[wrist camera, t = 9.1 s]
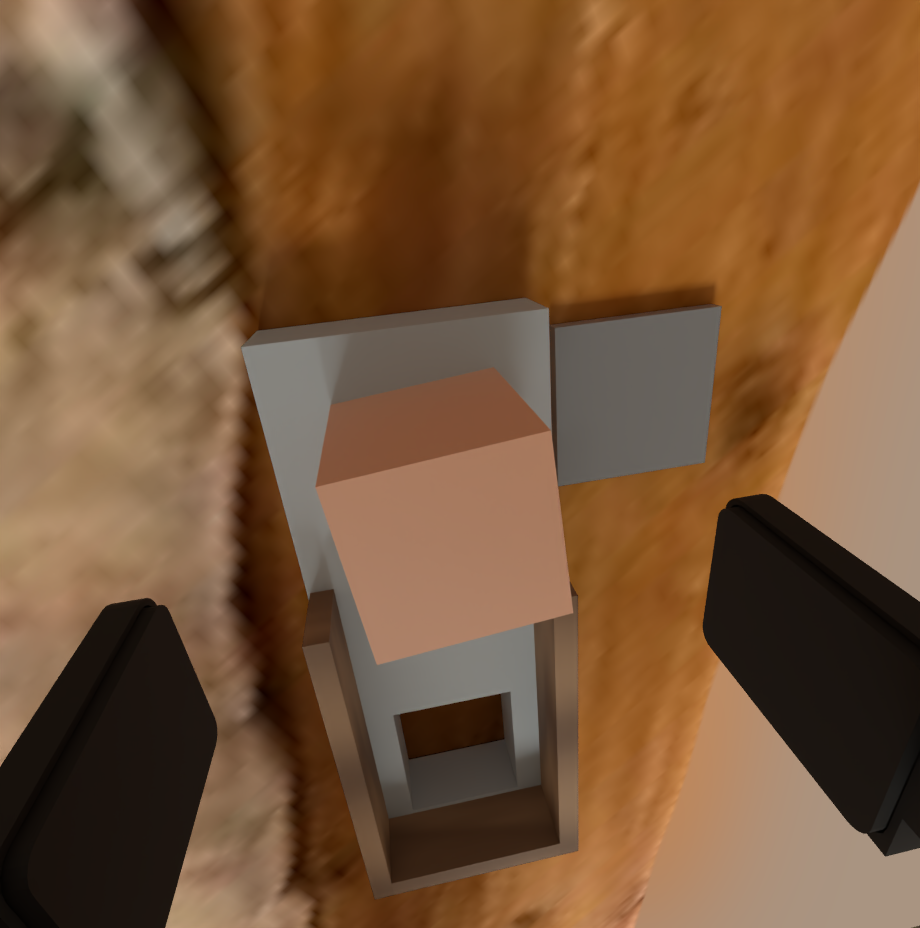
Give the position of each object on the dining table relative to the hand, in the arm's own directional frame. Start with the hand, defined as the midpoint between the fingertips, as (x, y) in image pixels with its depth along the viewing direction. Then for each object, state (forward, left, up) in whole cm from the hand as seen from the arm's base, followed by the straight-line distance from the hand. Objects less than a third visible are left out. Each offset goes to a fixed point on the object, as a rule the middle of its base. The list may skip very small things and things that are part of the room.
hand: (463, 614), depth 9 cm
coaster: (-1, -8, -11) cm, 14 cm away
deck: (-8, 0, -11) cm, 13 cm away
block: (-1, 0, -8) cm, 8 cm away
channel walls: (-12, 0, -8) cm, 14 cm away
